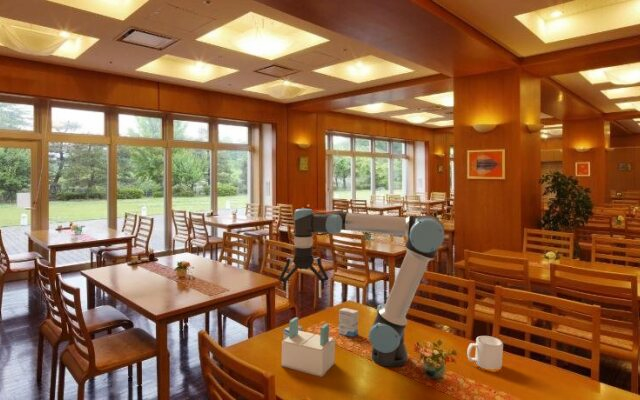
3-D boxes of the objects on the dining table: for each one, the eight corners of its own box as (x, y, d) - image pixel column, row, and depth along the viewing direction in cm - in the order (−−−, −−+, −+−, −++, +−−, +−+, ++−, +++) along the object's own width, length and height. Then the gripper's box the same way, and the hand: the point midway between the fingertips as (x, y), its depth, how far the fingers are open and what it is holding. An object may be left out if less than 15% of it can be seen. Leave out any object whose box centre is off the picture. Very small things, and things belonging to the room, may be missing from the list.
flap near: (333, 339, 162) (334, 321, 161) (321, 351, 151) (321, 331, 151) (315, 335, 166) (316, 317, 165) (302, 346, 155) (302, 327, 154)
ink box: (358, 334, 193) (359, 310, 192) (353, 337, 189) (354, 313, 188) (343, 330, 197) (343, 306, 197) (338, 333, 193) (338, 309, 192)
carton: (334, 363, 162) (334, 339, 162) (321, 376, 152) (322, 351, 151) (295, 354, 170) (296, 331, 169) (281, 366, 159) (281, 342, 159)
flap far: (314, 335, 166) (315, 317, 165) (301, 346, 155) (301, 327, 154) (297, 331, 169) (297, 314, 169) (283, 342, 158) (283, 323, 158)
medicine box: (294, 342, 182) (295, 323, 182) (302, 345, 179) (302, 326, 179) (282, 347, 176) (283, 328, 175) (290, 350, 173) (290, 331, 173)
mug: (472, 371, 159) (473, 345, 158) (463, 359, 169) (464, 335, 168) (506, 372, 158) (507, 346, 158) (495, 360, 169) (496, 336, 168)
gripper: (332, 244, 167) (332, 293, 168) (273, 245, 166) (274, 294, 167) (334, 247, 160) (334, 299, 161) (272, 248, 158) (272, 300, 159)
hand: (303, 297), depth 164 cm, fingers open, 13 cm apart
